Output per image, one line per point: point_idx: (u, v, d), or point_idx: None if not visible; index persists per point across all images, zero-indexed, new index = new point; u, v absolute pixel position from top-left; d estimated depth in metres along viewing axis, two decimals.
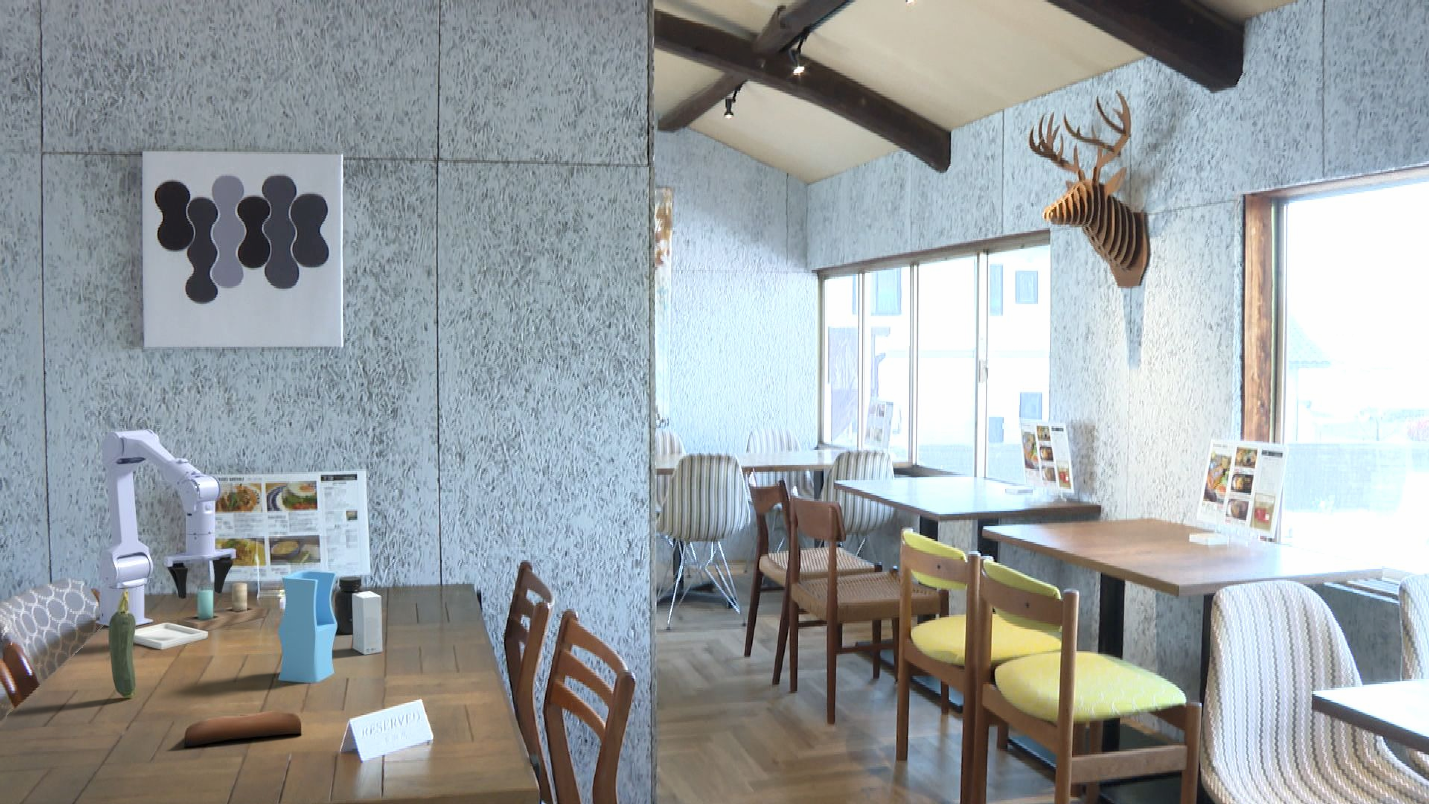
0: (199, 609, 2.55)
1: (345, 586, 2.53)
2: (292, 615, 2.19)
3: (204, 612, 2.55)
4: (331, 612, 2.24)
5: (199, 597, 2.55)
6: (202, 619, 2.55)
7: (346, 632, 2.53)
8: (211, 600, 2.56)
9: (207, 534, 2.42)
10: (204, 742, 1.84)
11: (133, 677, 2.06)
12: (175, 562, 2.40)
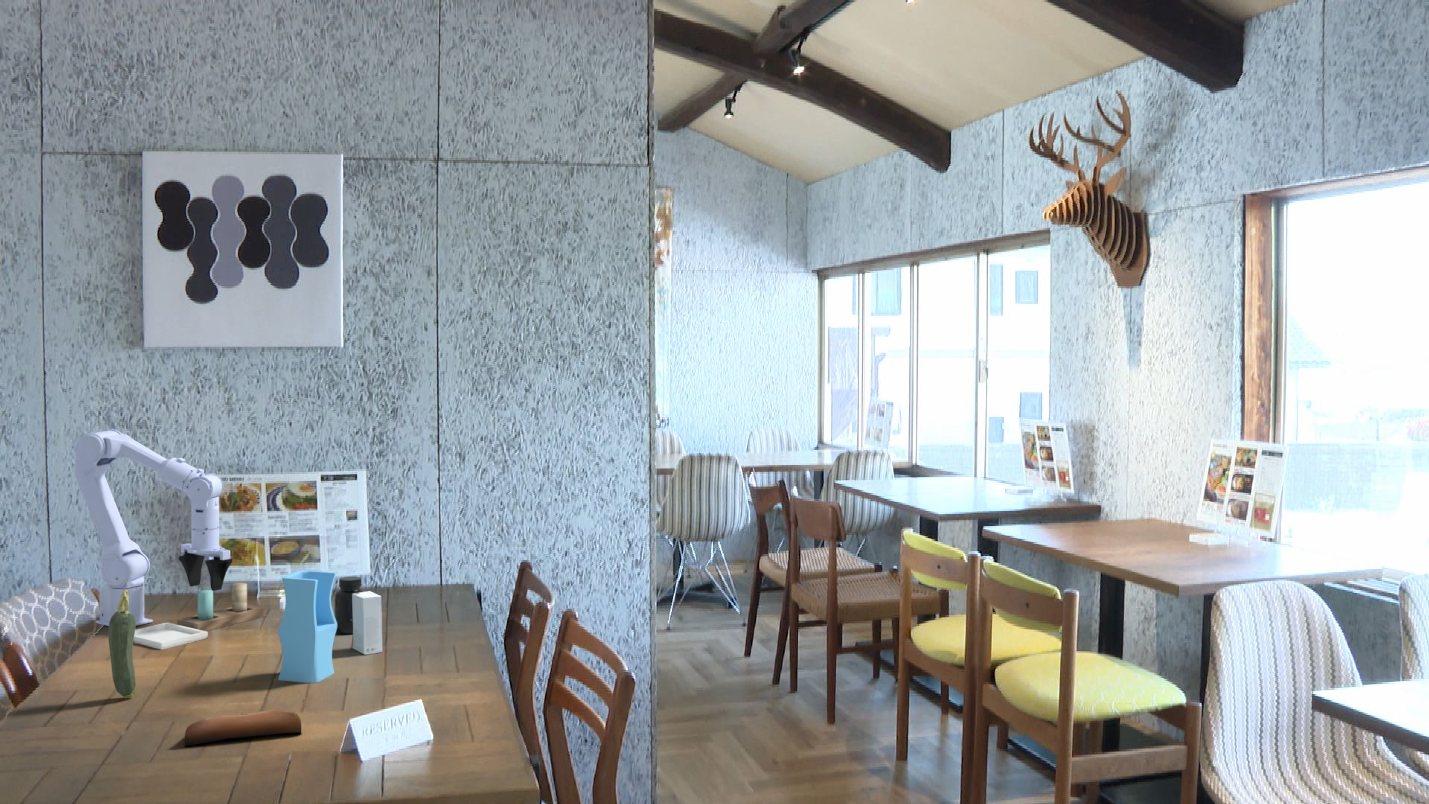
0: (199, 609, 2.55)
1: (345, 586, 2.53)
2: (292, 615, 2.19)
3: (204, 612, 2.55)
4: (331, 612, 2.24)
5: (199, 597, 2.55)
6: (202, 619, 2.55)
7: (346, 632, 2.53)
8: (211, 600, 2.56)
9: (194, 530, 2.53)
10: (204, 741, 1.84)
11: (133, 677, 2.06)
12: None
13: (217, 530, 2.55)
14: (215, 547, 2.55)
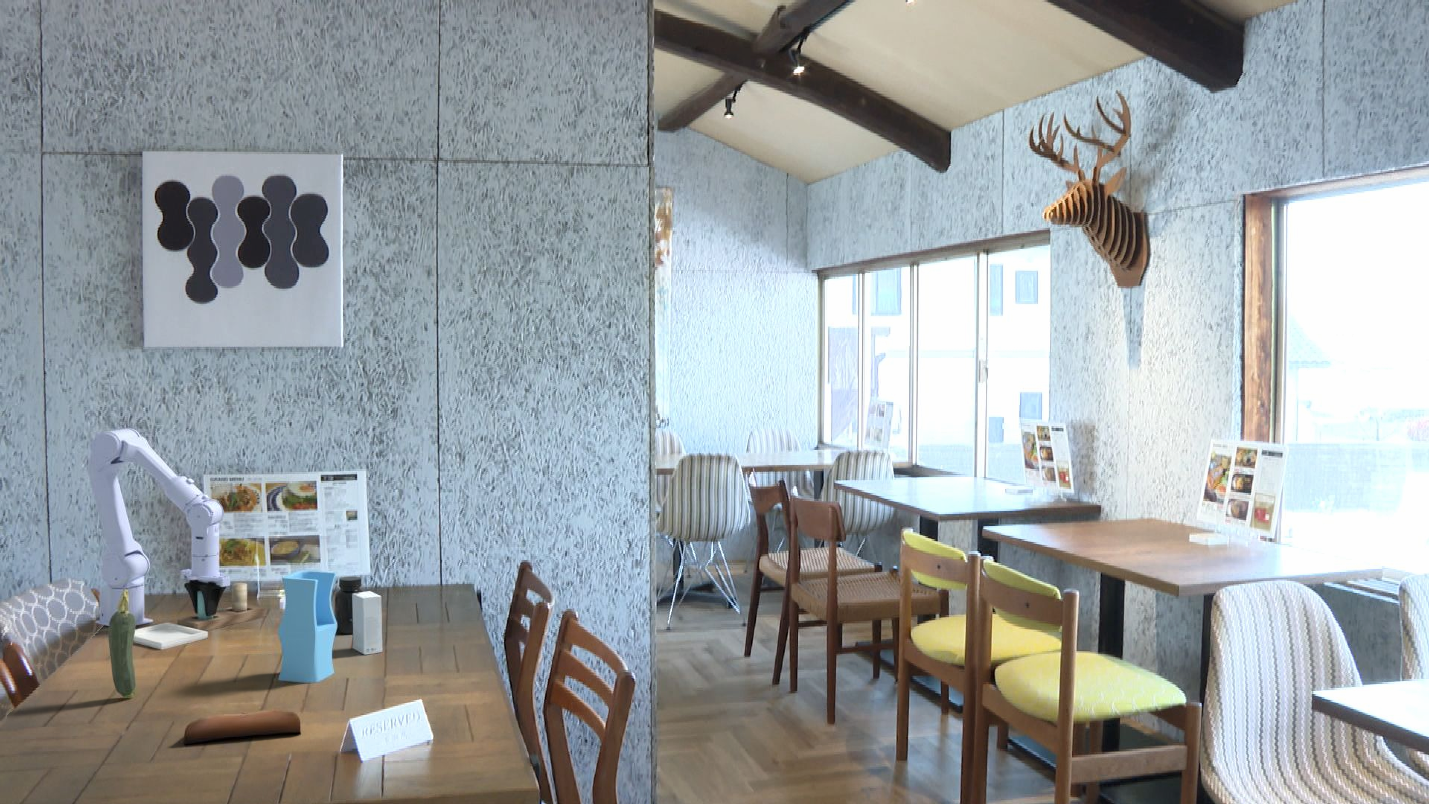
0: (199, 609, 2.55)
1: (345, 586, 2.53)
2: (292, 615, 2.19)
3: (204, 611, 2.55)
4: (331, 612, 2.24)
5: (199, 597, 2.55)
6: (202, 619, 2.55)
7: (346, 632, 2.53)
8: None
9: (194, 556, 2.53)
10: (204, 739, 1.85)
11: (133, 677, 2.06)
12: None
13: (217, 556, 2.56)
14: (215, 573, 2.55)
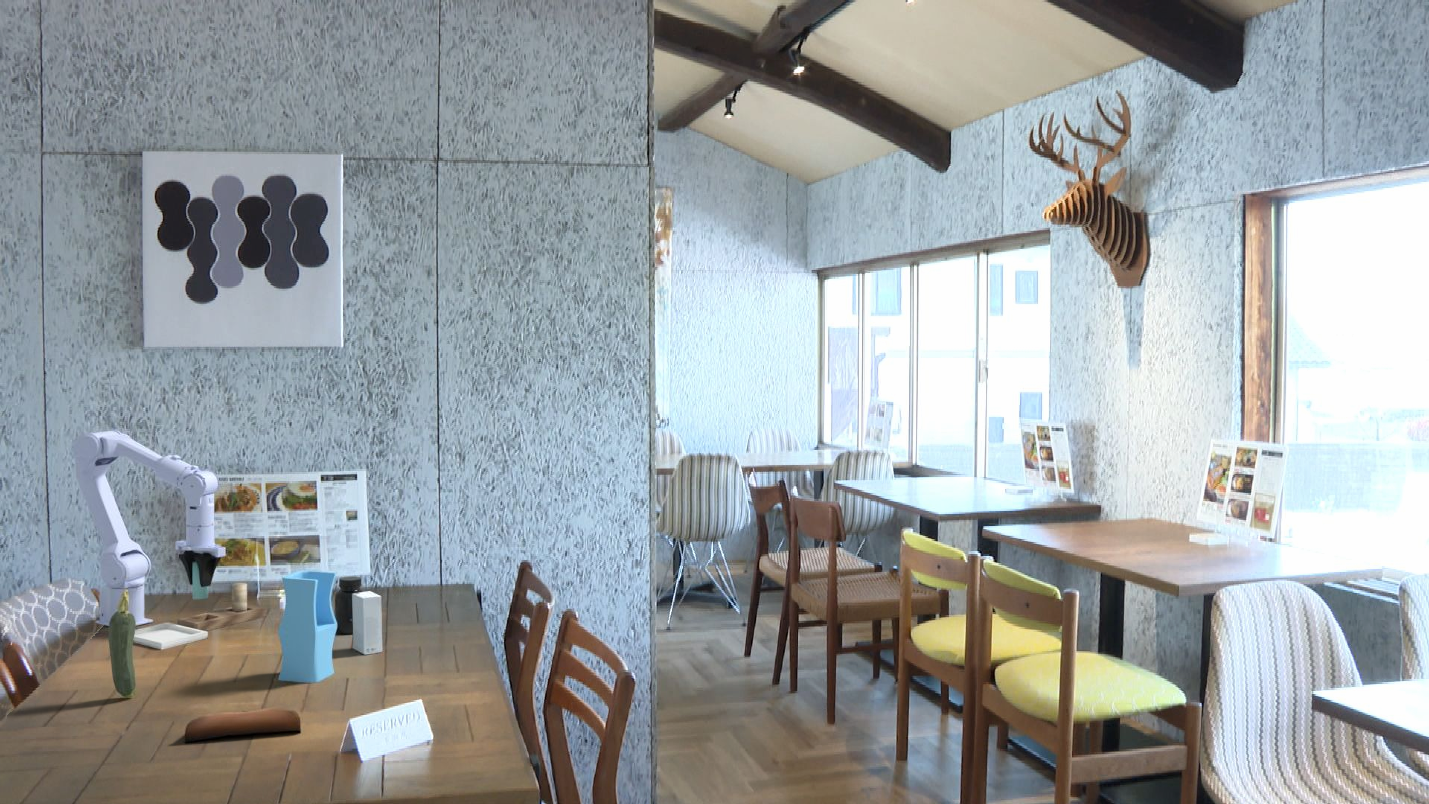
0: (194, 580, 2.53)
1: (345, 586, 2.53)
2: (292, 615, 2.19)
3: (199, 582, 2.53)
4: (331, 612, 2.24)
5: (194, 568, 2.53)
6: (197, 590, 2.53)
7: (346, 632, 2.53)
8: None
9: (189, 526, 2.51)
10: (204, 737, 1.86)
11: (133, 677, 2.06)
12: None
13: (212, 527, 2.53)
14: (210, 544, 2.53)
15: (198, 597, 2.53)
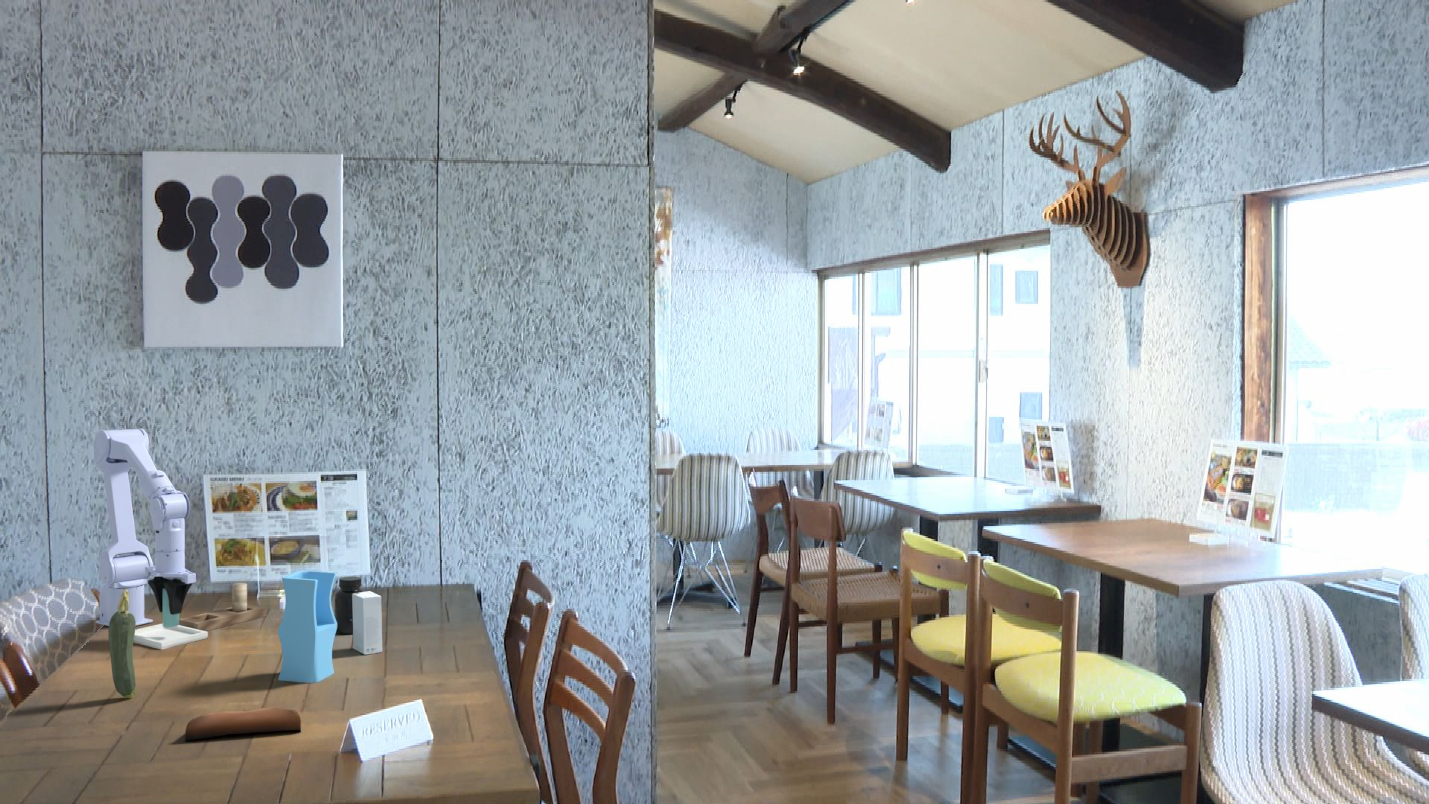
0: (164, 607, 2.43)
1: (345, 586, 2.53)
2: (292, 615, 2.19)
3: None
4: (331, 612, 2.24)
5: (164, 594, 2.43)
6: (167, 618, 2.43)
7: (346, 632, 2.53)
8: None
9: (158, 552, 2.41)
10: (205, 736, 1.86)
11: (133, 677, 2.06)
12: None
13: (182, 552, 2.43)
14: (180, 570, 2.43)
15: (168, 625, 2.43)
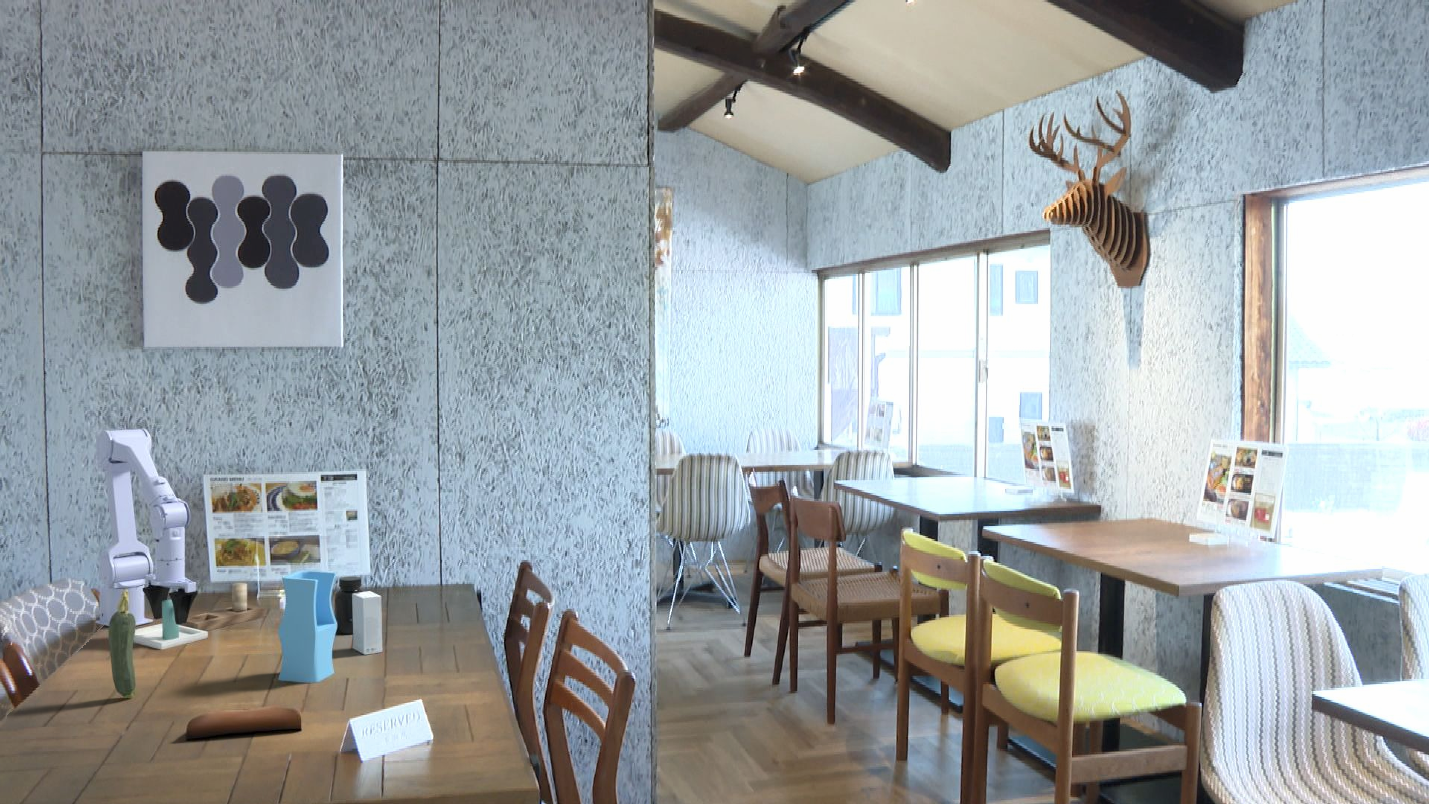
0: (164, 620, 2.43)
1: (345, 586, 2.53)
2: (292, 615, 2.19)
3: (170, 622, 2.43)
4: (331, 612, 2.24)
5: (164, 607, 2.43)
6: (167, 630, 2.43)
7: (346, 632, 2.53)
8: None
9: (158, 560, 2.41)
10: (205, 735, 1.87)
11: (133, 677, 2.06)
12: None
13: (182, 561, 2.44)
14: (180, 578, 2.43)
15: (168, 637, 2.43)
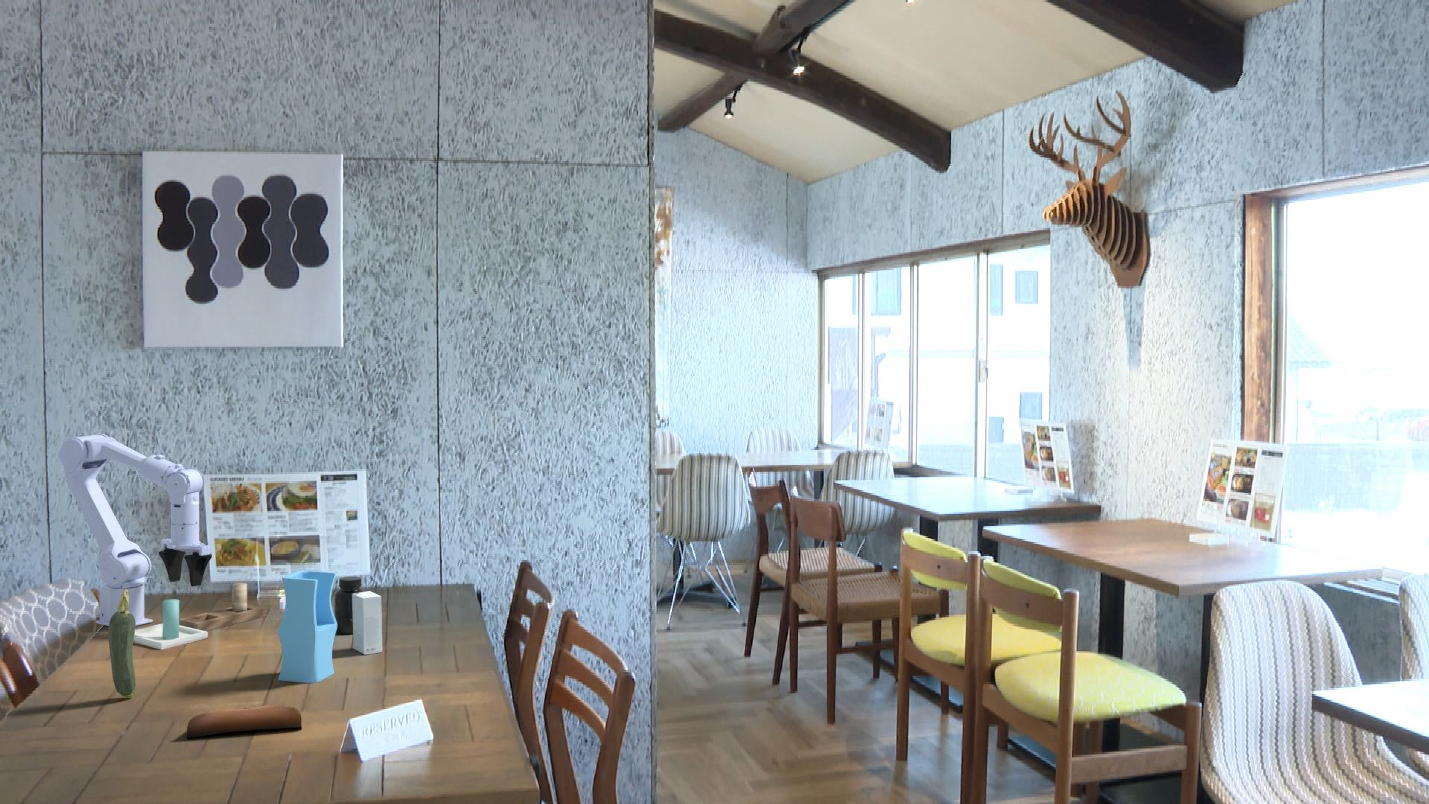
0: (164, 619, 2.43)
1: (345, 586, 2.53)
2: (292, 615, 2.19)
3: (170, 622, 2.43)
4: (331, 612, 2.24)
5: (164, 607, 2.43)
6: (167, 630, 2.43)
7: (346, 632, 2.53)
8: (177, 610, 2.44)
9: (174, 525, 2.51)
10: (206, 734, 1.87)
11: (133, 677, 2.06)
12: None
13: (197, 525, 2.53)
14: (195, 542, 2.53)
15: (168, 637, 2.43)
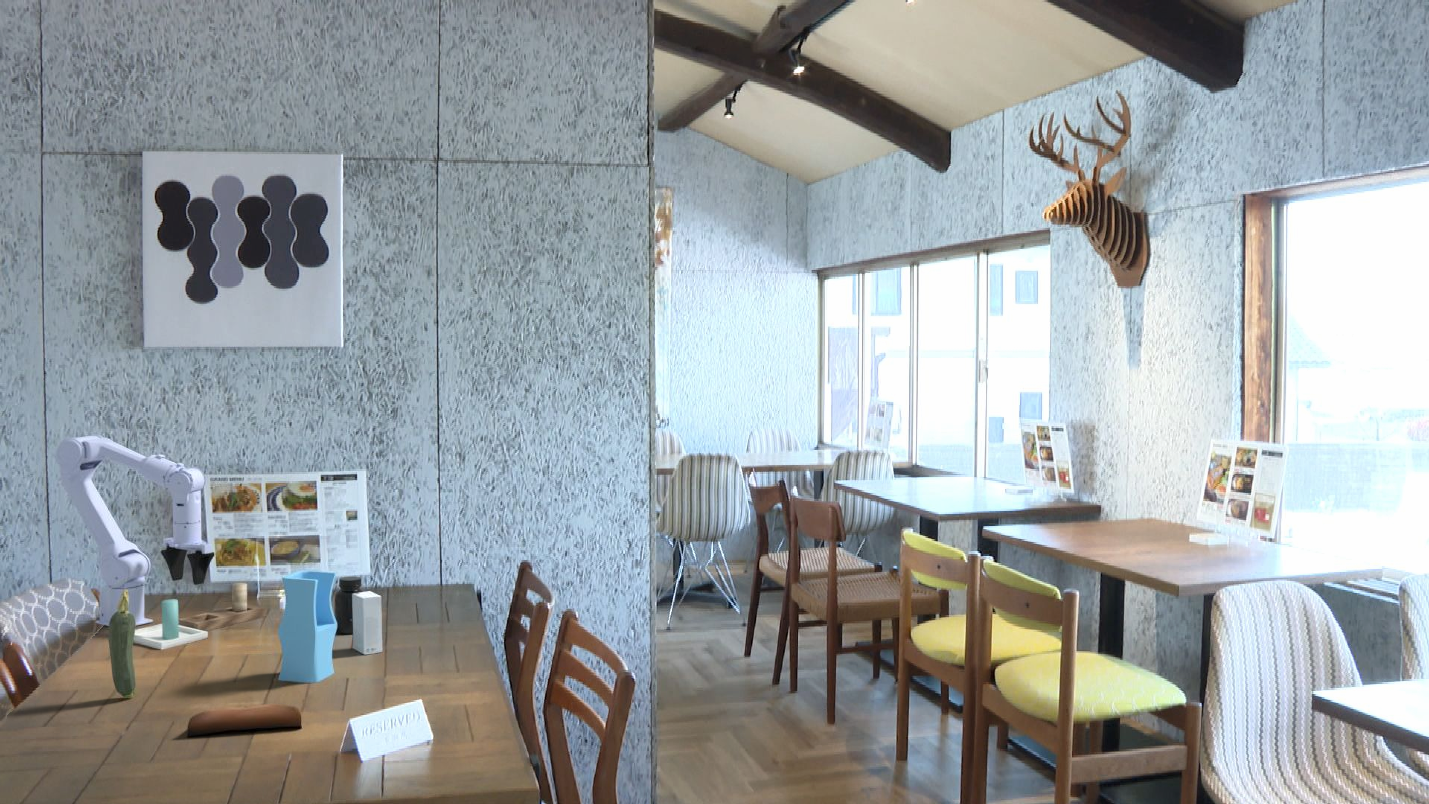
0: (163, 620, 2.43)
1: (345, 586, 2.53)
2: (292, 615, 2.19)
3: (169, 622, 2.43)
4: (331, 612, 2.24)
5: (163, 607, 2.43)
6: (167, 630, 2.43)
7: (346, 632, 2.53)
8: (176, 610, 2.44)
9: (176, 523, 2.52)
10: (206, 732, 1.88)
11: (133, 677, 2.06)
12: None
13: (199, 524, 2.54)
14: (197, 541, 2.54)
15: (168, 637, 2.43)
